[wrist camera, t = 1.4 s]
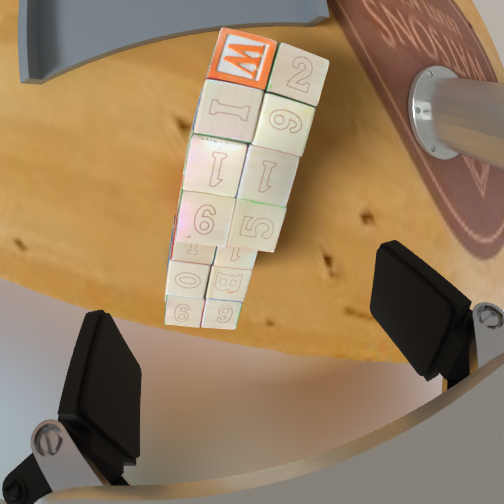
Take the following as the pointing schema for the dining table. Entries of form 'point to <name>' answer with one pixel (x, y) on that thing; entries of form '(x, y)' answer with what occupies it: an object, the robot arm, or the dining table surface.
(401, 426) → the robot arm
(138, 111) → the dining table surface
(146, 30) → the board
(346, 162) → the dining table surface
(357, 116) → the dining table surface
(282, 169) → the stack of blocks
